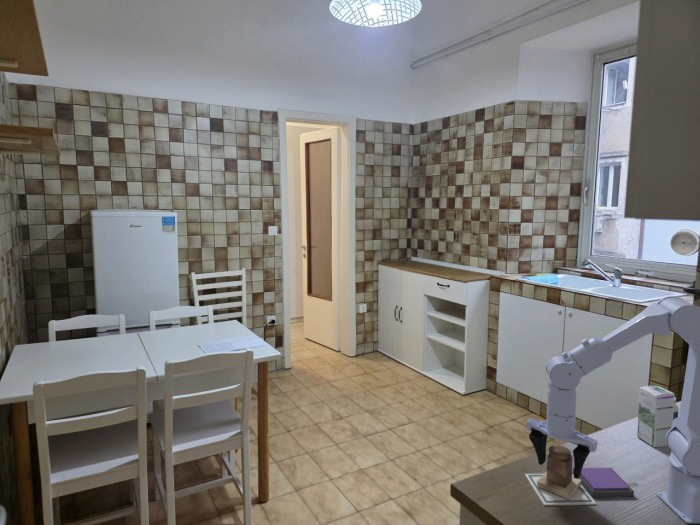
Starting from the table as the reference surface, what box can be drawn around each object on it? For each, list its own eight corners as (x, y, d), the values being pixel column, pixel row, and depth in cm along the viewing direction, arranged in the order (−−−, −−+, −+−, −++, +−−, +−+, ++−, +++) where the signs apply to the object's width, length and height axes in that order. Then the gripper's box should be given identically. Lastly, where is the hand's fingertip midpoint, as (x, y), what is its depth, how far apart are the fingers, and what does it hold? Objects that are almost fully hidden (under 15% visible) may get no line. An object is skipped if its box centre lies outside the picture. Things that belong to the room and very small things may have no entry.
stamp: (581, 486, 102) (582, 450, 101) (569, 501, 98) (570, 463, 96) (549, 473, 107) (550, 439, 106) (536, 487, 103) (537, 451, 101)
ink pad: (633, 496, 99) (634, 489, 99) (592, 497, 99) (592, 490, 99) (610, 472, 108) (610, 466, 108) (572, 473, 108) (572, 466, 108)
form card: (596, 504, 97) (596, 502, 97) (544, 505, 97) (544, 503, 97) (571, 474, 108) (571, 472, 108) (524, 475, 108) (524, 473, 108)
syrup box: (672, 445, 119) (676, 392, 117) (652, 448, 118) (656, 394, 116) (654, 435, 125) (658, 384, 123) (635, 437, 124) (638, 386, 122)
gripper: (603, 415, 98) (600, 474, 99) (536, 396, 108) (534, 450, 110) (591, 427, 93) (589, 489, 94) (522, 406, 103) (521, 462, 105)
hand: (559, 469), depth 102 cm, fingers open, 7 cm apart
